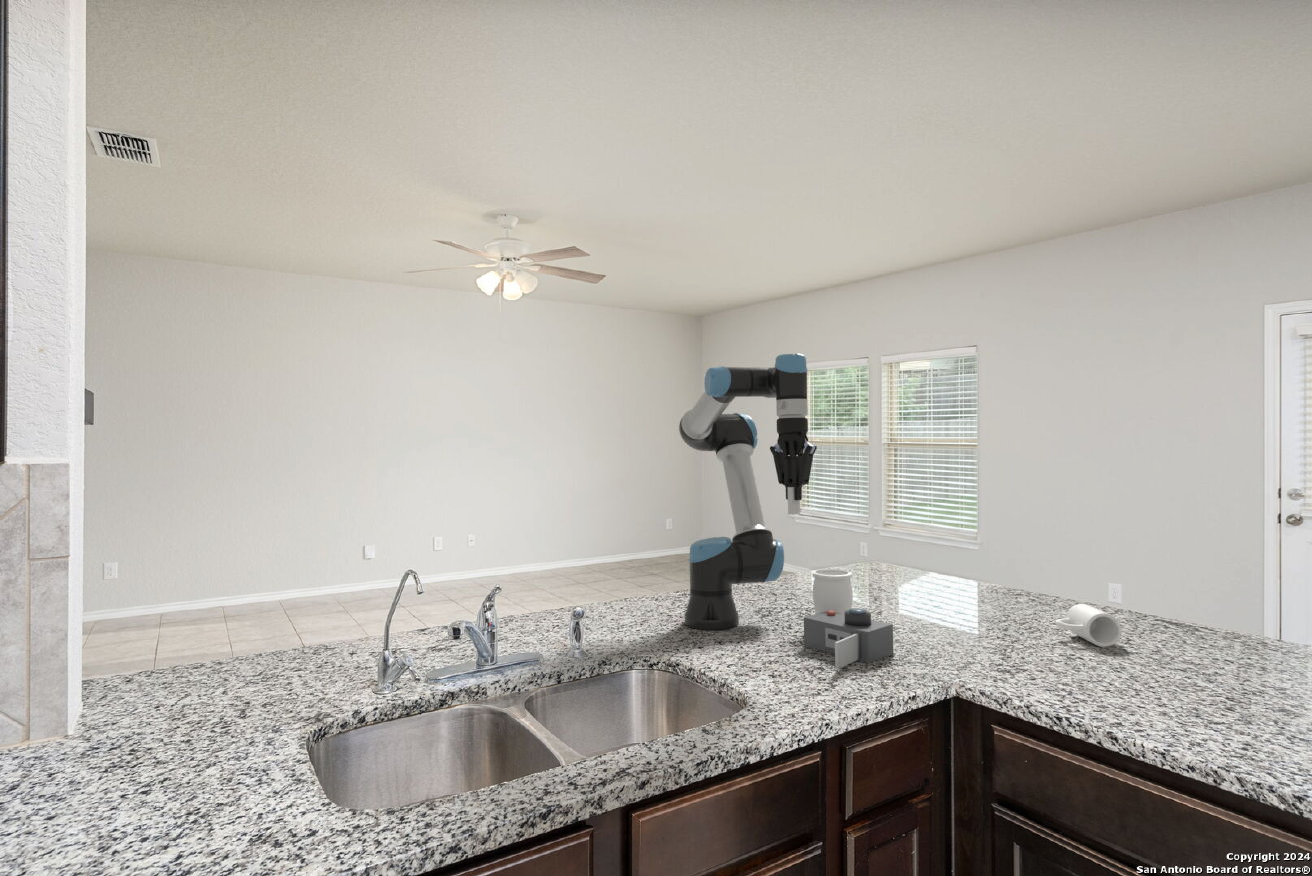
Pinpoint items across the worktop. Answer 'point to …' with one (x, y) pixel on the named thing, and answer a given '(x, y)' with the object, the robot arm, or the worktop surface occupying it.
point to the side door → (846, 651)
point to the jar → (832, 590)
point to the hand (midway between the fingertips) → (794, 513)
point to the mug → (1092, 625)
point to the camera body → (849, 633)
